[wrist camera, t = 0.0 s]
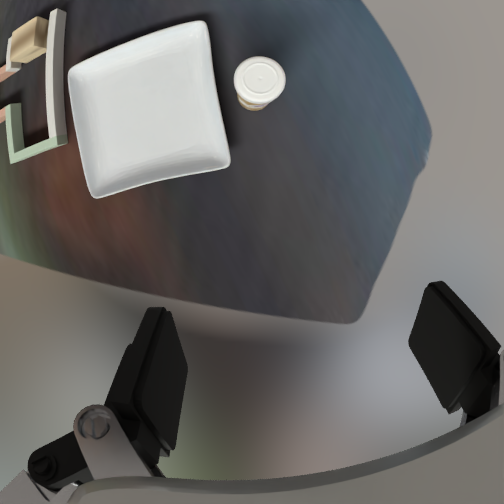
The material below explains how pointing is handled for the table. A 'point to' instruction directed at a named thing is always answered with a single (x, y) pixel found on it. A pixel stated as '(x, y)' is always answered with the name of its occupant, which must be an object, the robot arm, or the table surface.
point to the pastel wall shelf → (52, 95)
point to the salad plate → (148, 110)
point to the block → (29, 40)
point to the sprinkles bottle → (258, 82)
